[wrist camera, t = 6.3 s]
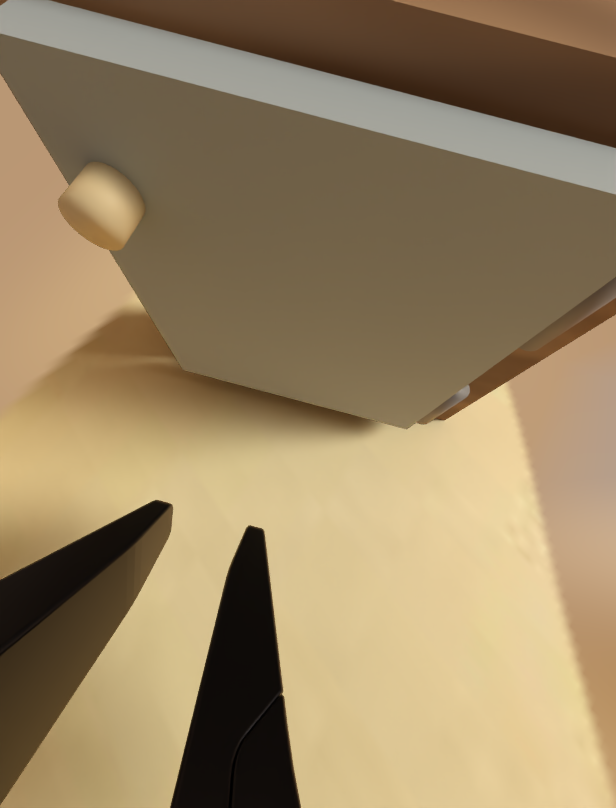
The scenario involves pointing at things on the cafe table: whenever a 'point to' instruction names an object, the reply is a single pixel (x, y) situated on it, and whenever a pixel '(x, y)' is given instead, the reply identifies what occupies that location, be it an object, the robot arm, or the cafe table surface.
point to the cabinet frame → (432, 69)
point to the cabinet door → (313, 213)
